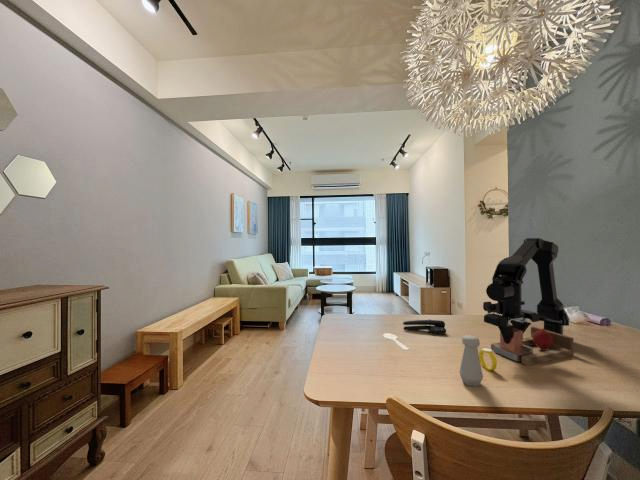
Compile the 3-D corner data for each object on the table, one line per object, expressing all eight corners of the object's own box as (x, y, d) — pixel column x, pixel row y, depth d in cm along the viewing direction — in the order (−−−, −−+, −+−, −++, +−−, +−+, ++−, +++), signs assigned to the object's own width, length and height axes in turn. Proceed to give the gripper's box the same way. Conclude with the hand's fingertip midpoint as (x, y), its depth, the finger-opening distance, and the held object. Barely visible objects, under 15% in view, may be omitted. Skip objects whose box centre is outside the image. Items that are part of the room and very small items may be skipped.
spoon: (400, 351, 99) (400, 350, 99) (380, 334, 117) (380, 333, 117) (413, 350, 100) (413, 348, 100) (392, 333, 118) (391, 332, 118)
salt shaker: (455, 377, 80) (454, 333, 80) (473, 376, 80) (473, 332, 80) (467, 388, 74) (467, 340, 74) (487, 387, 74) (487, 340, 74)
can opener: (445, 331, 120) (445, 318, 120) (446, 336, 114) (446, 323, 114) (403, 327, 126) (403, 315, 126) (402, 332, 120) (402, 319, 120)
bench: (533, 341, 106) (533, 326, 106) (573, 355, 94) (573, 337, 94) (491, 349, 100) (490, 332, 100) (527, 364, 87) (527, 346, 87)
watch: (477, 365, 88) (475, 346, 88) (484, 364, 88) (483, 345, 89) (491, 373, 82) (490, 352, 82) (499, 372, 82) (498, 352, 83)
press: (508, 348, 99) (508, 324, 99) (532, 358, 91) (532, 331, 91) (493, 351, 97) (493, 326, 97) (517, 361, 89) (517, 334, 89)
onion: (557, 353, 95) (557, 331, 95) (538, 352, 96) (538, 330, 96) (547, 347, 101) (546, 325, 101) (529, 346, 102) (529, 324, 102)
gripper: (508, 291, 104) (508, 332, 104) (470, 294, 99) (470, 337, 99) (539, 297, 94) (540, 342, 94) (499, 301, 88) (499, 349, 88)
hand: (511, 342), depth 94 cm, fingers closed on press, 4 cm apart
